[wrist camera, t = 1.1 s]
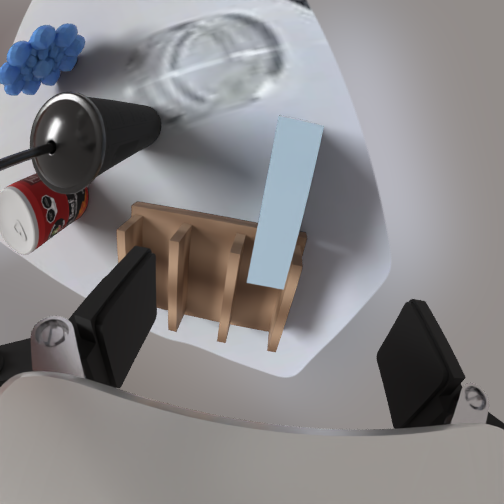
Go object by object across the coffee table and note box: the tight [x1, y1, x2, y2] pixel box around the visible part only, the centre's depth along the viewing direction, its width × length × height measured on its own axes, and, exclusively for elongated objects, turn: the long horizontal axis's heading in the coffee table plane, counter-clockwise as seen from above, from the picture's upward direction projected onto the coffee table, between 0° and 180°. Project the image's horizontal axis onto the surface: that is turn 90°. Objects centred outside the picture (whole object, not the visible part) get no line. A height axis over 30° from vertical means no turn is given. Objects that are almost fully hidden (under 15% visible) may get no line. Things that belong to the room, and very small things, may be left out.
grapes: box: [0, 23, 85, 96], centre depth 19 cm, size 12×7×12 cm, turn 114°
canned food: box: [0, 173, 88, 255], centre depth 28 cm, size 8×8×11 cm
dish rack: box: [117, 202, 307, 352], centre depth 33 cm, size 14×20×6 cm
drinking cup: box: [0, 92, 161, 194], centre depth 19 cm, size 8×8×20 cm
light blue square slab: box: [247, 115, 324, 290], centre depth 24 cm, size 12×3×12 cm, turn 170°
